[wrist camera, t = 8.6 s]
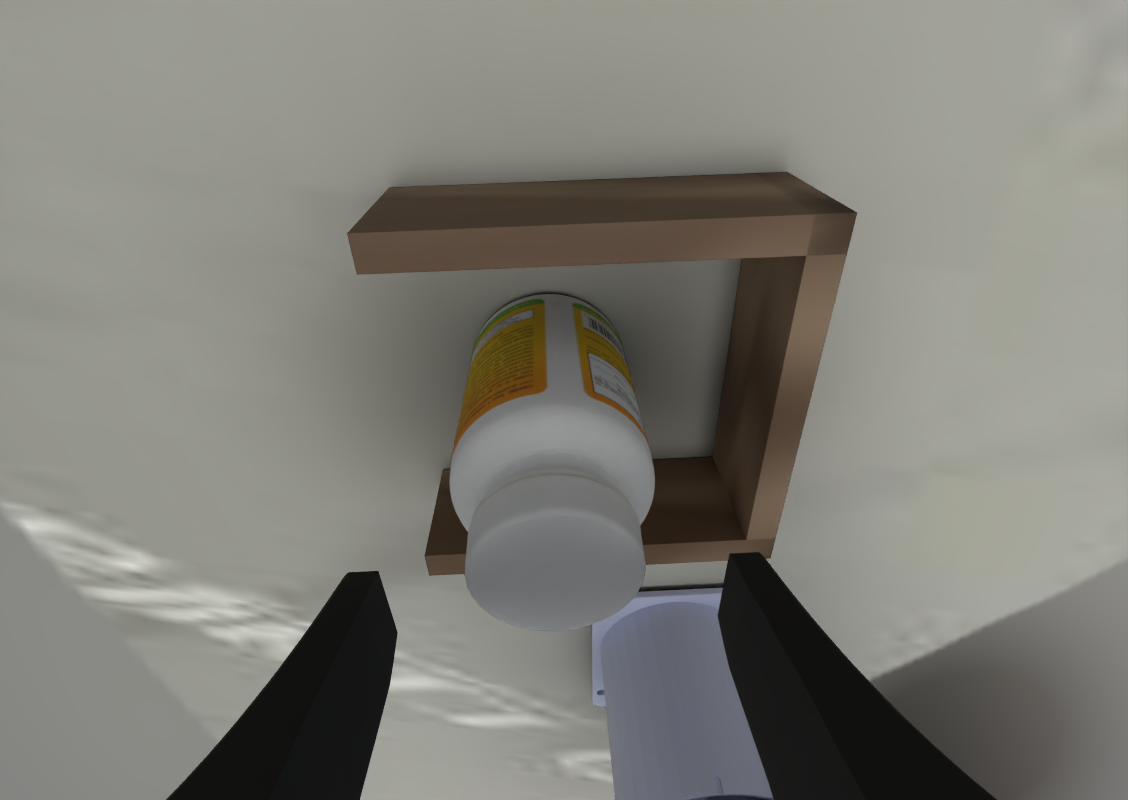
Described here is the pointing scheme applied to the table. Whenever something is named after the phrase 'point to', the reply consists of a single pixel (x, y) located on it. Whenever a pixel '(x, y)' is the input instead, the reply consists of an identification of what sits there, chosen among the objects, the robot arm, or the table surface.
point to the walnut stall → (657, 234)
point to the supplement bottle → (551, 467)
